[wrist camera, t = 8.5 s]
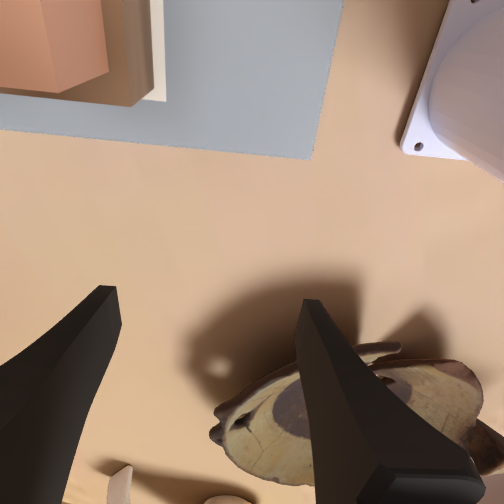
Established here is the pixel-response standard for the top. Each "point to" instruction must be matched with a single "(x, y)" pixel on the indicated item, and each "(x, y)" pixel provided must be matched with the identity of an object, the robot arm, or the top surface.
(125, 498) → the spoon rest
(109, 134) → the mat
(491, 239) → the top surface
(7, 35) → the terracotta block
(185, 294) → the top surface
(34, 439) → the robot arm
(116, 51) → the walnut block
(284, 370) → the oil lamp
